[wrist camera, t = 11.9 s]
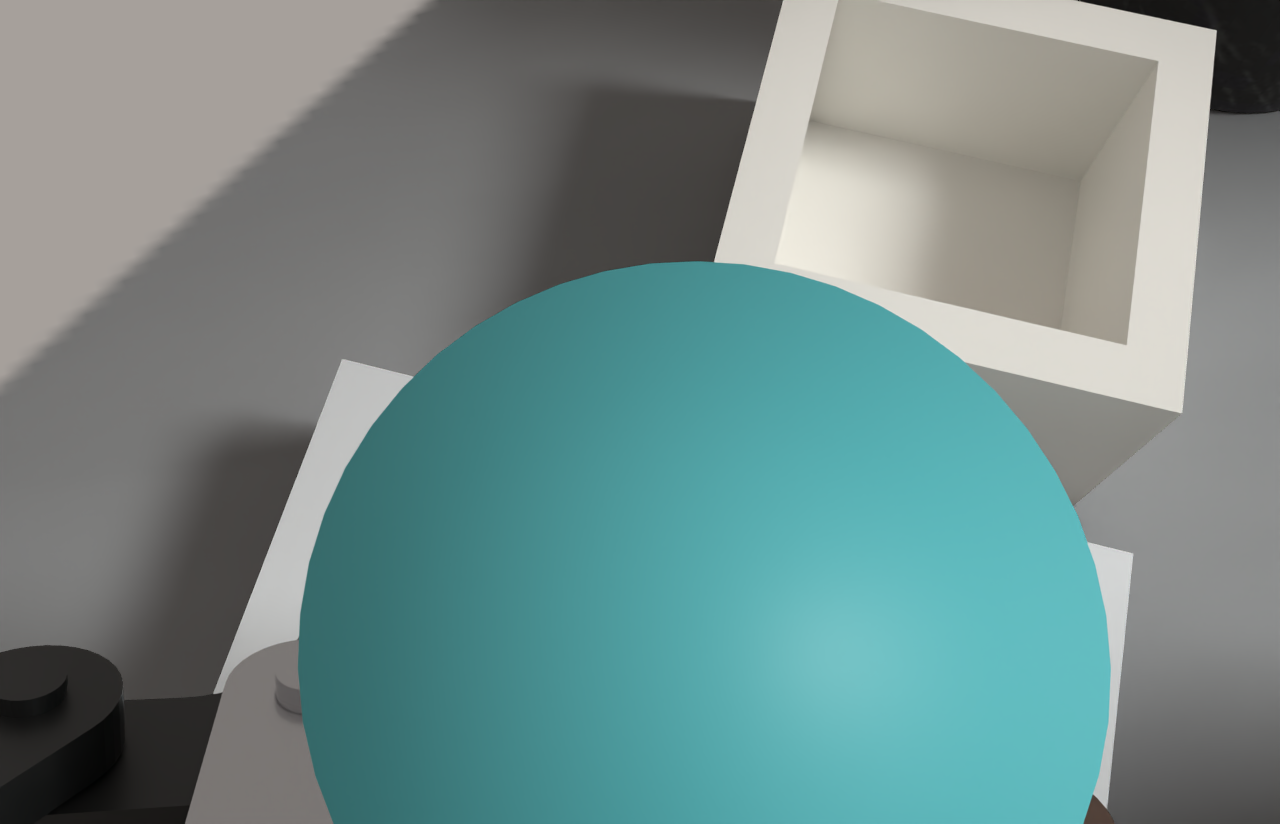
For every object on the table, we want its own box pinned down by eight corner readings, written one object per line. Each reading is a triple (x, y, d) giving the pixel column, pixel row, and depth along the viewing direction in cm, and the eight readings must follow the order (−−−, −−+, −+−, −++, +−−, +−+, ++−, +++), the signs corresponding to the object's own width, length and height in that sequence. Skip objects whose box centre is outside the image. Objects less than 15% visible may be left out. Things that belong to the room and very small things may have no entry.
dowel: (555, 658, 20) (449, 189, 7) (792, 721, 19) (1148, 358, 7) (482, 910, 18) (164, 927, 5) (736, 984, 18) (1057, 1194, 5)
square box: (768, 101, 28) (799, -59, 23) (1113, 178, 27) (1216, 30, 22) (686, 412, 25) (703, 300, 20) (1072, 506, 24) (1181, 413, 19)
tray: (378, 430, 24) (342, 359, 21) (1061, 600, 23) (1133, 553, 20) (142, 1077, 20) (51, 1112, 17) (971, 1324, 19) (1044, 1413, 16)
